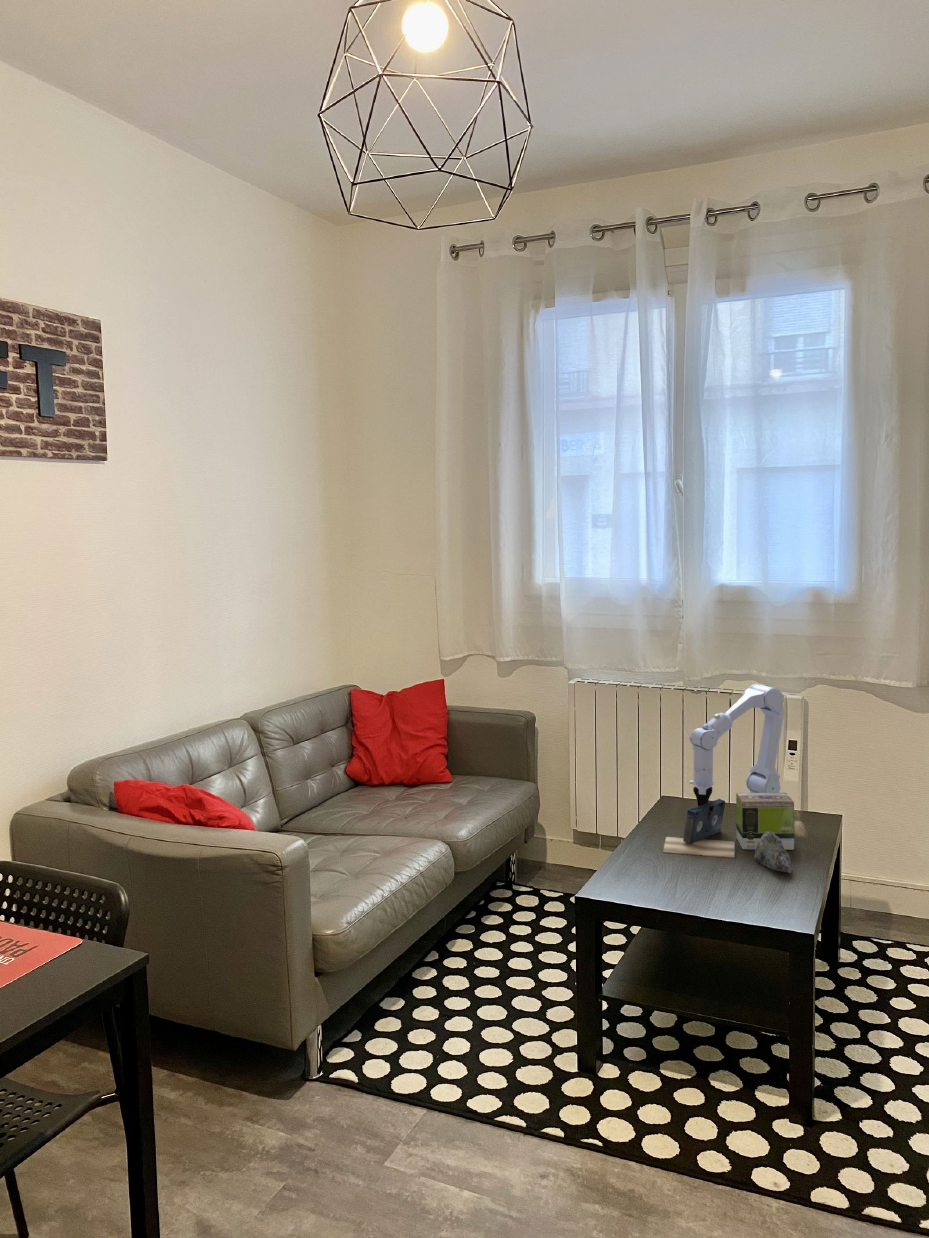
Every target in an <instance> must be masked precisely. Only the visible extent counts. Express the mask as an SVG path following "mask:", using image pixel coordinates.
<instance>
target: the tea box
mask: <svg viewBox="0 0 929 1238" xmlns="http://www.w3.org/2000/svg"><path fill="white" fill-rule="evenodd" d="M735 795H736V796H735V797H736V799H735V801H736V803H735V805H736V808H735V811H736V815H735V817H736V822H735V827H736V829H735V830H736V835H735V836H736V840H737V843H738V844H739V843H740V844H739V845H740V847H741V850H756V847H757V845H758V842H759V840H760V838H761V837H762V835H763V834H764V833H765V832H766V831H768V832H774V833H775V835H776V836H778V837H779V838H780V840H781V841H782V845H783V847H784V849H785V851H787V850H789V851H790V850H791V851H793V850H795V801H793V800H792V798H791V797H790V796H789V795H788V793H787V792H779V793H750V792H736V793H735Z"/></svg>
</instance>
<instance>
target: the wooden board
mask: <svg viewBox="0 0 929 1238" xmlns="http://www.w3.org/2000/svg"><path fill="white" fill-rule="evenodd" d="M683 838H684V837H676V836H675V837H674V836H673V837H672V836H666V837H665V840H664V846H663V851H662V852H663V853H665V854H674V855H677V854H678V855H687V854H688V856H700V855H702V856H704V857H714V858H715V857H717V858H730V859H735V857H736V856H735V853H736V852H735V849H736V848H735V841H731V840H730V841H729V840H718V839H715V840H714V839H705V838H704V839H701V840H699V841H696V842H694V843H692V844H688V843H686V842H684V841H683Z"/></svg>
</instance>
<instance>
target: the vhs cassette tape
mask: <svg viewBox="0 0 929 1238" xmlns="http://www.w3.org/2000/svg"><path fill="white" fill-rule="evenodd" d="M725 807H726V801H725V800H723V799H721V798H717V799H715V800H712V801H708V803H706V804H703V805H701V806H698V805H697V807H692V808H690V809H688V810H687V811H686V819H685V825H684V832H683V833H684V834H683V837H682V838H683V841H684V842H686V843H688V844H692V843H694V842H696V841H699V840H701V839H704V840H705V838H708V837H710V836H712V835H715V834H717V833H720V832H721V831H722V824H723V819H724V814H725V813H724V812H725Z"/></svg>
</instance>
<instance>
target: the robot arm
mask: <svg viewBox="0 0 929 1238" xmlns="http://www.w3.org/2000/svg"><path fill="white" fill-rule="evenodd" d="M784 699H785V695H784V694H783V693H782V692H781V690H780V689H779V688H777V687H771V686H766V685H763V684H760V683H753V684H752V685H750V686H749V687H748V688H746V689H745V690H744V694H743V695H742V696H741V697H740V698H739V699H738V700H737V701H736V702H735V703H734V704H733V705H732V706H731V707H730V708H729V709H728V710H726V712H719V713H715V714H714V715H713V718H711V719H710V720H708V722H706V723H704V724H703V725H702V727H698V728H695V729H694V730H693V731H692V732H691V735H690V736H689V741H690V743H691V744H692V750H693V779H691V780H689V785H693V790H692V791H693V793H694V796H695V798H696V802H697V807H698V806H701V805H703V804H706V803H709V802H710V801H709V800H710V798H711V795H712V793H713V786H714V781H713V779H714V778H713V777H714V776H713V775H714V774H713V772H714V769H713V768H714V748H715V747H716V746H717V744H718V741H719V740H720V738H721V737H723V735H725V734H726V733H728V731H730V730H731V729H732V727H733V725H734V724H733V722H734V721H735V720H737V719H739V718H740V717H741V716H742V715H744V714H745V713H747V712H748V711H749V710H751V709H752V708H757V709H760V711H762V713H763V715H764V720H763V726H762V731H761V738H760V743H759V749H758V753H757V755H758V756H757V761H756V764H754V765H753V766H752V767H751V768H750V771H749V774H748V776H747V777H746V780H745V782H746V783H745V784H746V785H745V786H746V788H747V789H748V791H749V793H781V792H780V791H781V783H780V777H781V776H780V774H779V772H778V771H777V768H776V764H777V758H778V757H777V756H778V753H779V751H778V750H779V745H780V739H781V733H782V729H783V723H784V716H785V708H784Z"/></svg>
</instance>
